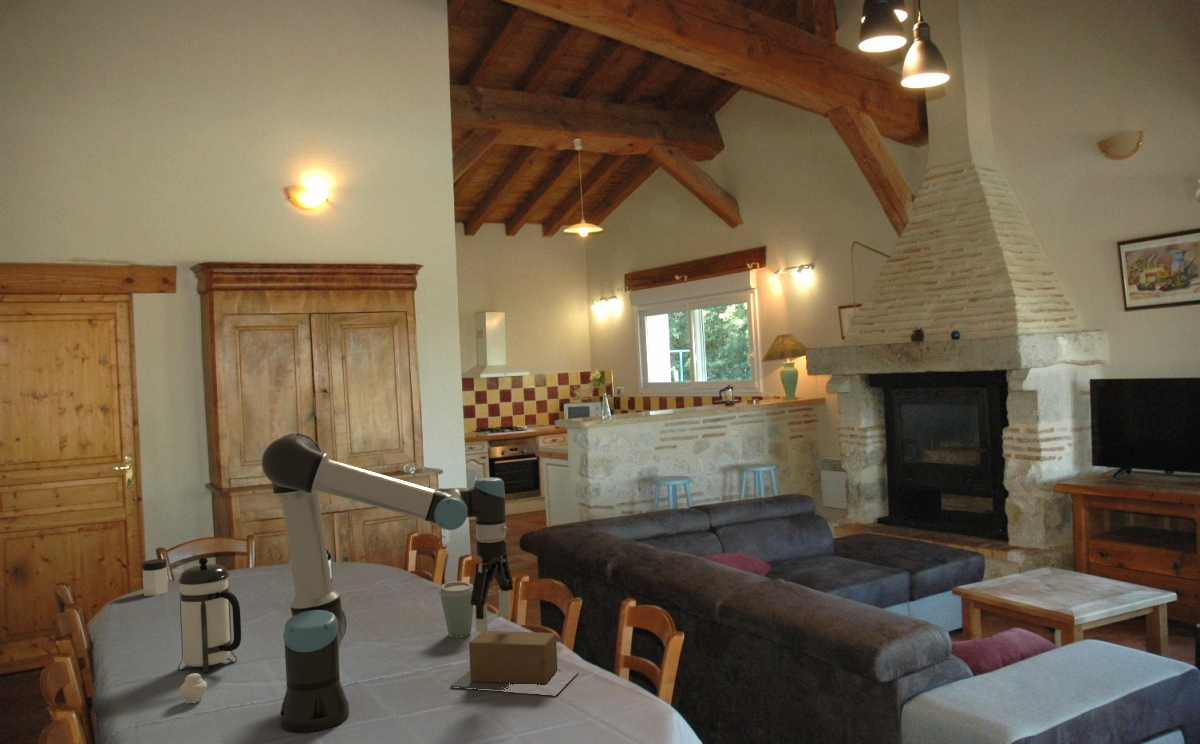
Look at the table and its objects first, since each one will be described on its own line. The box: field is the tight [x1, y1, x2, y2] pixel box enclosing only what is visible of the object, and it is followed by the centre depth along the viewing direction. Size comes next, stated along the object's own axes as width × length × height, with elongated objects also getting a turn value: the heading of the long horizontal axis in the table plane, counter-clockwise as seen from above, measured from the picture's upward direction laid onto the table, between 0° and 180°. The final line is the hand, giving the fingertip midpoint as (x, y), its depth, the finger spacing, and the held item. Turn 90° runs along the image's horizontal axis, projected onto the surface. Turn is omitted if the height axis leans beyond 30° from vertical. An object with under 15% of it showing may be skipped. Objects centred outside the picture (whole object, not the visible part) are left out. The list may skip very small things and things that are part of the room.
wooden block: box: [468, 630, 558, 685], centre depth 221 cm, size 10×10×20 cm
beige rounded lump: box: [179, 672, 208, 704], centre depth 215 cm, size 6×6×7 cm
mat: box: [449, 670, 513, 690], centre depth 220 cm, size 16×28×1 cm, turn 72°
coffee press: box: [177, 556, 242, 674], centre depth 242 cm, size 17×16×30 cm
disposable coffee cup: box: [438, 580, 474, 638], centre depth 261 cm, size 11×11×15 cm
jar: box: [141, 558, 168, 597], centre depth 328 cm, size 9×8×12 cm
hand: (493, 623), depth 222 cm, fingers open, 13 cm apart
